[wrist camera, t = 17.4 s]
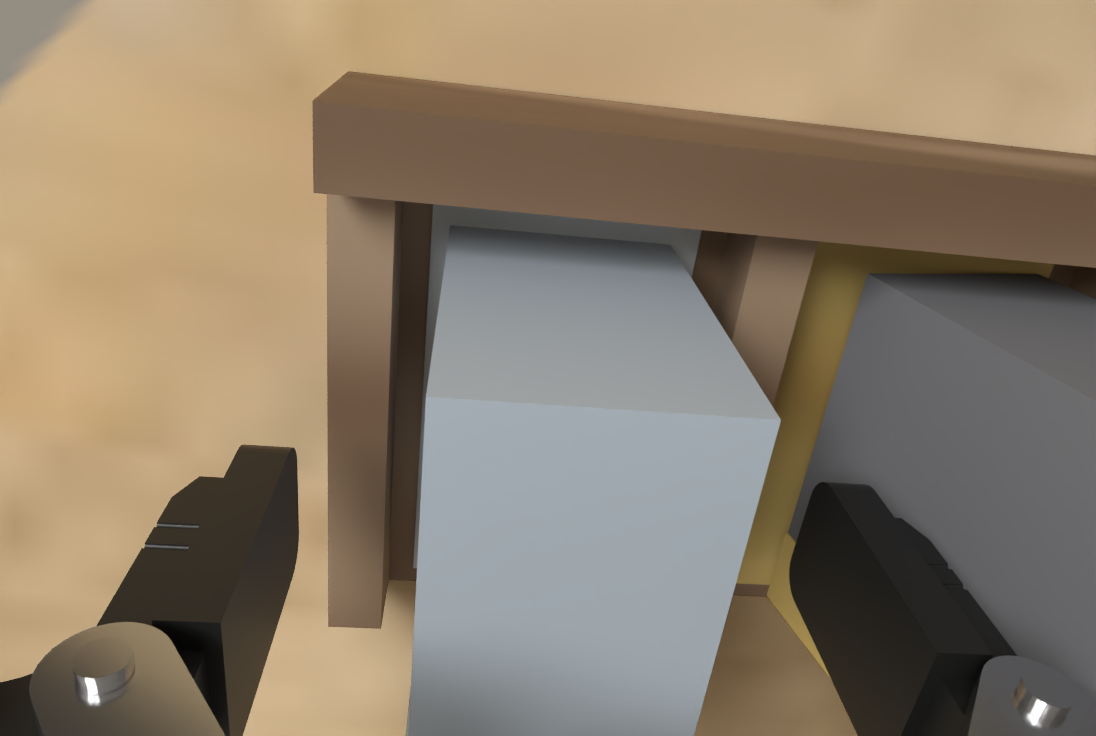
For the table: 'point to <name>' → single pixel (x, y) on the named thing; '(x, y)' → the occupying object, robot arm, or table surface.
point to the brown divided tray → (642, 216)
